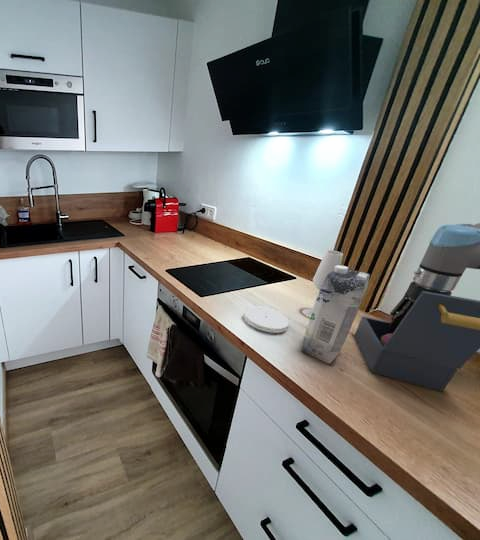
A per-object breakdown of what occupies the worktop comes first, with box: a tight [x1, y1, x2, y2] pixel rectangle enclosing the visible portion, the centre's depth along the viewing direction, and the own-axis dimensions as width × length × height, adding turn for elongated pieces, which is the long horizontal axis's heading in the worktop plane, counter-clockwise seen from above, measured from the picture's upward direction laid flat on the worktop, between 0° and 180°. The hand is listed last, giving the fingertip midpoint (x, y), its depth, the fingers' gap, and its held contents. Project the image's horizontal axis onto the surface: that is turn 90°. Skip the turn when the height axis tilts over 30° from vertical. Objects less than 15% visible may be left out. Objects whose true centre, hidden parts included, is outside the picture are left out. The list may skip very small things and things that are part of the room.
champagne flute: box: [301, 249, 344, 319], centre depth 99 cm, size 7×7×24 cm
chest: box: [354, 316, 458, 392], centre depth 81 cm, size 19×15×7 cm
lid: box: [382, 291, 480, 370], centre depth 64 cm, size 20×15×6 cm
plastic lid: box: [243, 305, 290, 334], centre depth 97 cm, size 14×14×2 cm
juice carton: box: [301, 264, 371, 364], centre depth 79 cm, size 9×10×27 cm
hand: (396, 353), depth 82 cm, fingers open, 12 cm apart
